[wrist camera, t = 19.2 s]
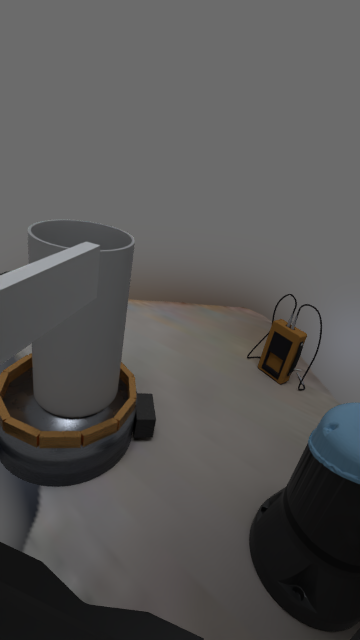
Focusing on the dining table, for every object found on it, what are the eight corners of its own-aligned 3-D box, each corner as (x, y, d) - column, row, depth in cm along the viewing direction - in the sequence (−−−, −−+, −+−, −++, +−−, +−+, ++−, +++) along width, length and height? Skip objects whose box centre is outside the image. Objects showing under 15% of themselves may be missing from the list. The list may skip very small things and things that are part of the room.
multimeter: (318, 382, 80) (353, 308, 71) (294, 395, 74) (329, 315, 65) (270, 350, 89) (295, 280, 80) (244, 359, 83) (269, 284, 74)
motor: (145, 387, 68) (151, 350, 63) (156, 482, 50) (166, 439, 45) (14, 383, 62) (11, 342, 58) (-27, 489, 44) (-35, 441, 40)
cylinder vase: (14, 399, 49) (2, 229, 38) (68, 357, 60) (72, 215, 48) (87, 433, 46) (98, 259, 35) (131, 383, 57) (151, 237, 45)
